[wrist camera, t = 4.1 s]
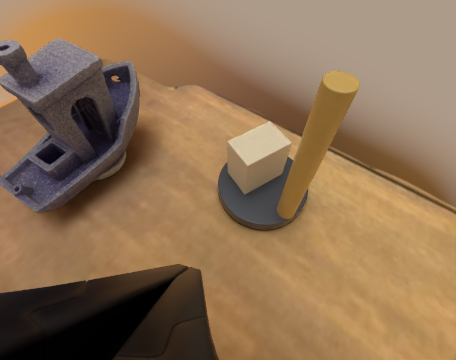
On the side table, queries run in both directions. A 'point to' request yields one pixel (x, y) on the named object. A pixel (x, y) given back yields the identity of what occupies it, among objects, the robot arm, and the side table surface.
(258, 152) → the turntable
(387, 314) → the side table surface
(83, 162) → the toy boat
